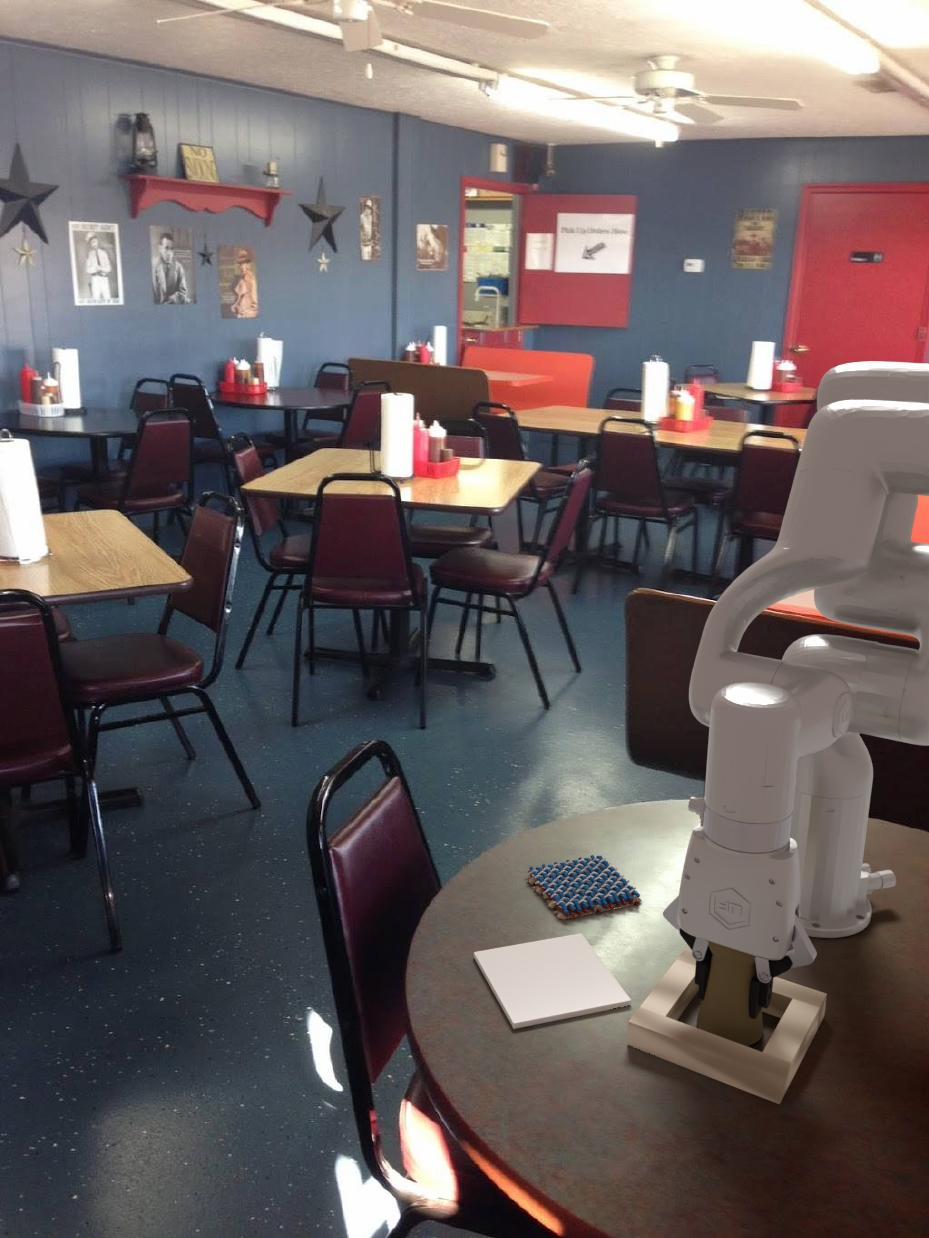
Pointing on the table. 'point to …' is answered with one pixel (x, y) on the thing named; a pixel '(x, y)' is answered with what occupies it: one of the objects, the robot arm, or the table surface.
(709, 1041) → the wooden holder
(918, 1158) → the table surface
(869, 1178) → the table surface
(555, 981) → the ceramic tile
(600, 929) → the table surface
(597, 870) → the woven mat
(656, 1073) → the table surface
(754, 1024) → the cork
